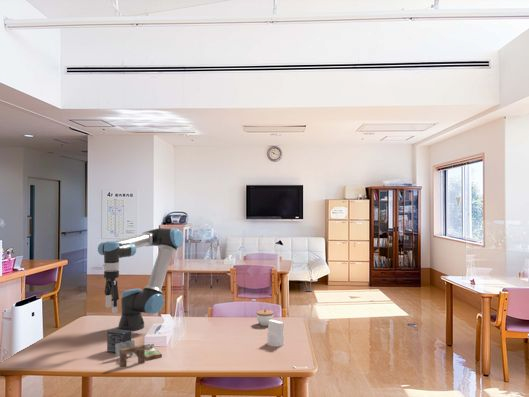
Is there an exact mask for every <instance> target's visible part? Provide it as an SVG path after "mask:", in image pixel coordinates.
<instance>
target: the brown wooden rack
mask: <svg viewBox="0 0 529 397" xmlns="http://www.w3.org/2000/svg"><path fill="white" fill-rule="evenodd" d="M135 345H136V342H135V340H134V339H131V341H126V342H120V343H115V353H114V356H115V357H116V358H117V357H120V349H124V348H129V347H134V346H135ZM144 345H145V347H150V348H152V347H154V346H155V343H153V344H150V345H147V344H144ZM135 353H136V352H133V353H128V354H127V355H129V356H133V355H134V354H135Z"/></svg>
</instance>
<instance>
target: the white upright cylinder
mask: <svg viewBox="0 0 529 397" xmlns="http://www.w3.org/2000/svg"><path fill="white" fill-rule="evenodd" d="M284 327H285V326H284V322H283V321H279V320H276V319H273V320H268V327H267V328H268V329H267V345H268V346H270V347H282V346H284V345H285V332H284V330H285V329H284Z"/></svg>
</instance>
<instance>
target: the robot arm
mask: <svg viewBox="0 0 529 397" xmlns="http://www.w3.org/2000/svg"><path fill="white" fill-rule="evenodd" d="M183 243H184V235H183V233H182V231H181V230H180V229H178V228H166V227H165V228H161V227H159V228H155V229H151V230H147V231H144V232H142V233H141V234H138V235H133V236H129V237H126V238H121V239H117V240H110V241H105V242H100V243H99V244H98V246H97V252H98V254H99V256H100V255H101V256H103V259H104V260H103V263H104V264H102V267H103V268H104V269H103V270H104V271H103V278H104V279H105V286H104V295H105V309H107V308H111V313H112V314H116V313H118V311H119V310H118V308H119V306H118V304H119V303H118V301H119V299H120V300H121V316H120V319H119V322H118V324H117V325H118V329H119V330H128V331H131V332H132V331H138V330H143V329H144V328H145V320H144V318H143V314H142V313H145V314H148V315H149V314H152V315H153V314H157V313H158V312H160V311H161V310H162V308H163V306H164V302H165V299H164V296H163V290H162V288H163V285H164V282H165V279H166V275H167V273H168V270H169V267H170V263H171V262H172V257H173V254H174V253H177V249H178V248H181V247H182V245H183ZM151 246H152V247H155V246H156V247H158V249H159V251H158V254H157V255H156V256H157V257H156V259H155V262H154V264H153V265H154V266H153V268H152V271H151V274H150V277H149V280H148V283H147V285H146V286H144V287H143V290H142V288H130V289H126V290H124V291H122V292H121V298H119V289H118V287H119V286H118V281H117V280H116V278H119V277H120V270H119V269H120V259H121V258H127V257H133V256H135V254H136V253H137V249H139V248H142V247H151Z"/></svg>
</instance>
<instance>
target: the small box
mask: <svg viewBox="0 0 529 397" xmlns="http://www.w3.org/2000/svg"><path fill="white" fill-rule="evenodd" d="M106 335H107V336H106V338H107V339H106V340H107V344H106V345H107V346H106V350H107V351H106V353H110V354H115V343H120V342H126V341H131V340H132V331H128V330H119V329H117V328H114V329H111V330H109V331H107V334H106Z"/></svg>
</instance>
